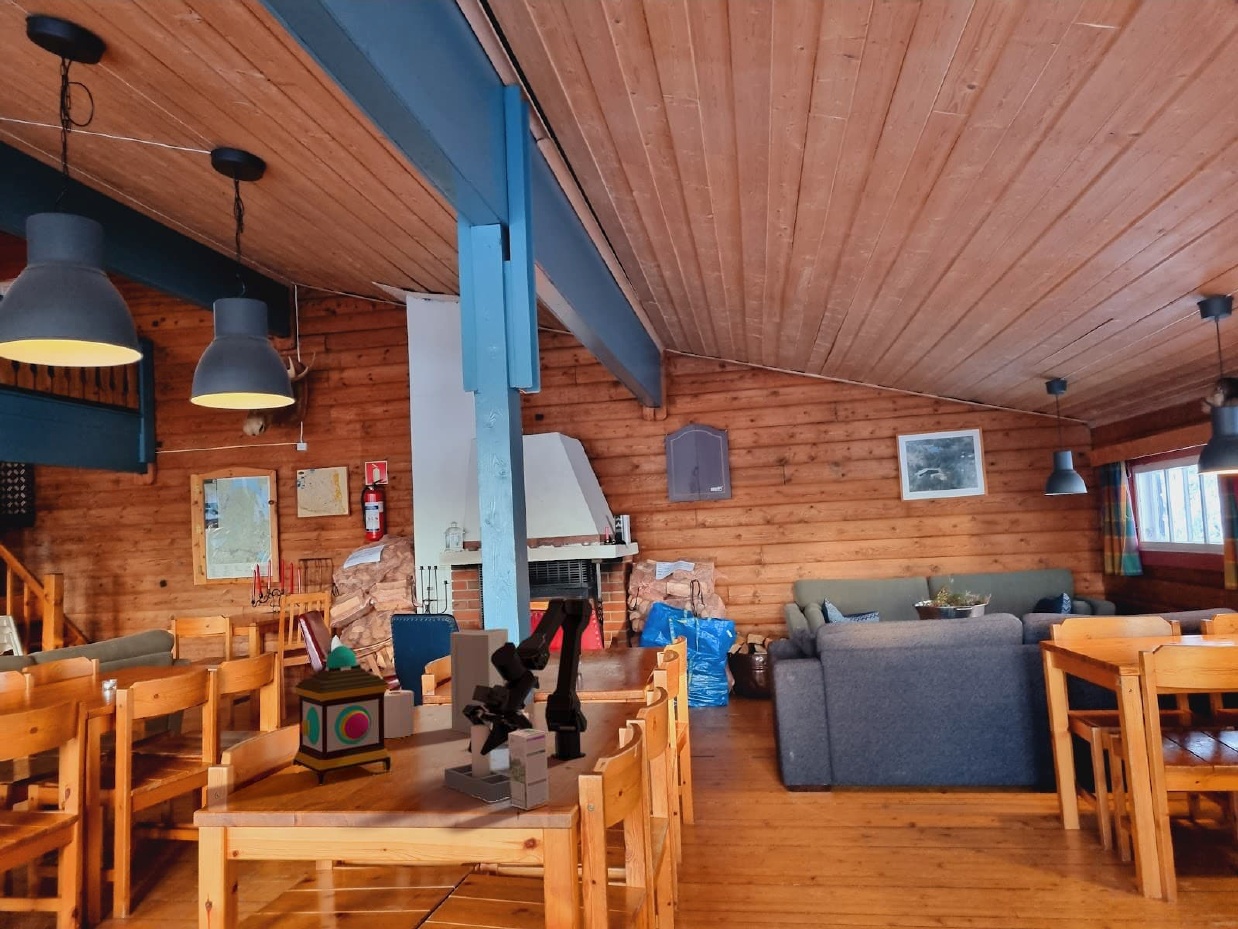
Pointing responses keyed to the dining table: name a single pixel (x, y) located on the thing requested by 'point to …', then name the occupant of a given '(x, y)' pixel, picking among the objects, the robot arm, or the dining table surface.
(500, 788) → the caddy
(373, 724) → the decorative lantern
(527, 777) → the syrup box
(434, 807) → the dining table surface
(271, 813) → the dining table surface
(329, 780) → the dining table surface
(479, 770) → the beige tapered cylinder
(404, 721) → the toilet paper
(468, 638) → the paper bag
